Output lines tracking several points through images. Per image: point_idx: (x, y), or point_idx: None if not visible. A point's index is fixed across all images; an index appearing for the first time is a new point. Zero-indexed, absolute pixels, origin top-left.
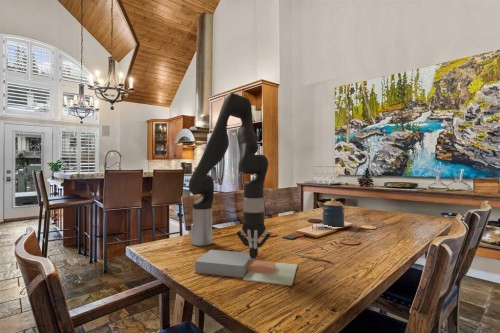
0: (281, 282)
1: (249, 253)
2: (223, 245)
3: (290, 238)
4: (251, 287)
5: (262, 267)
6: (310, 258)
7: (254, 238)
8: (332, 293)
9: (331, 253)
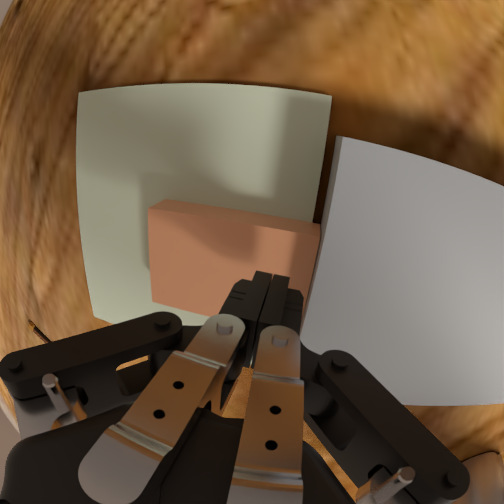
0: (113, 93)
1: None
2: None
3: None
4: (263, 16)
5: (210, 216)
6: None
7: (191, 394)
8: (3, 91)
9: None
